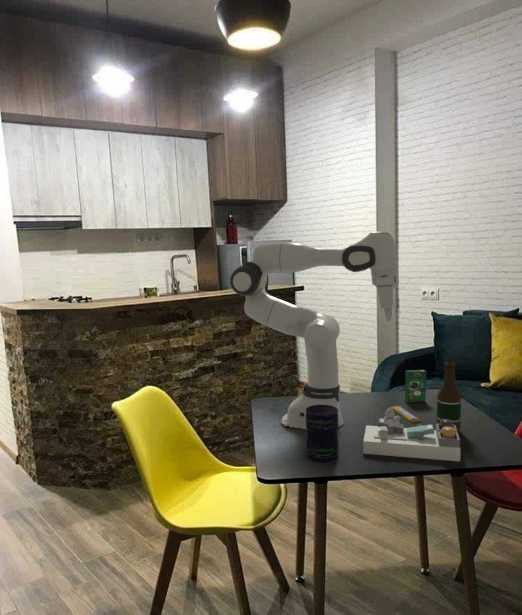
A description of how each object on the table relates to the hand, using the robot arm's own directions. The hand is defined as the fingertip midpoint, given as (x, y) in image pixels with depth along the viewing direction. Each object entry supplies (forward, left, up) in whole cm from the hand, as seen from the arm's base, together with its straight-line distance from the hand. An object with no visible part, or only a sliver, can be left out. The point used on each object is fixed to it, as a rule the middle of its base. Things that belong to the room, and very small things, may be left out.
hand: (389, 318), depth 172 cm
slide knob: (-1, -22, -34) cm, 40 cm away
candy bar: (+6, +14, -40) cm, 42 cm away
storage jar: (-19, -30, -39) cm, 53 cm away
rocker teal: (+10, -18, -33) cm, 39 cm away
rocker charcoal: (+1, -15, -33) cm, 36 cm away
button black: (+18, -15, -33) cm, 40 cm away
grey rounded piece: (+1, 0, -39) cm, 39 cm away
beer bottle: (+20, 0, -39) cm, 44 cm away
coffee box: (+10, +32, -39) cm, 51 cm away
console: (+7, -18, -39) cm, 43 cm away
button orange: (+18, -22, -33) cm, 43 cm away
